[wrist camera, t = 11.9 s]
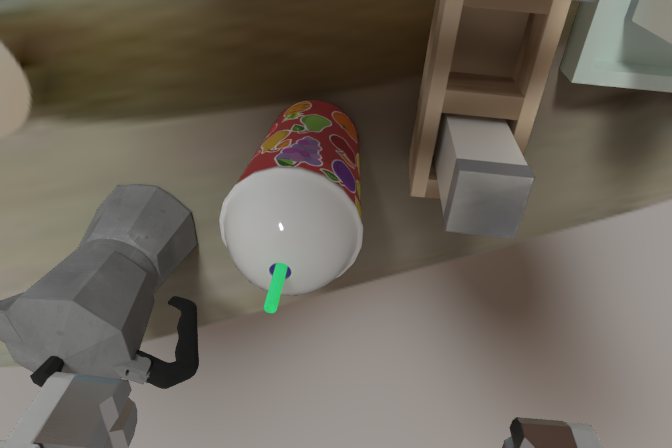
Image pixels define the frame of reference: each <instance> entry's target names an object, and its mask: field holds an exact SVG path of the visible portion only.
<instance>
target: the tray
mask: <svg viewBox="0 0 672 448" xmlns="http://www.w3.org/2000/svg"><path fill="white" fill-rule="evenodd" d="M630 2H631V0H594V2H585V1H581V2H580V5H579V8H578V11H577V14H576V17H575V20H574V24H573V27H572V30H571V33H570V36H569V39H568V42H567V46H566V49H565V52H564V55H563V58H562V61H561V64H560V67H559V69H560V70H561V71H562V73H563V74H564V75H565V76H566V77H567V78H568V79H569V80H570V81H571V83H580V84H590V85H600V86H611V87H621V88H631V89H641V90H651V91H661V92H672V44H671V43H669V42H667V41H666V40H664V39H662V38H660V37H659V36H657V35H655V34H654V33H652V32H650V31H648V30H647V29H645V28H643V27H642V26H640V25H638V24H637V23H635V22H632V21H629V20H627V19H626V18H625V15H626V13H627V10H628V7H629V5H630Z"/></svg>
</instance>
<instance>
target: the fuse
mask: <svg viewBox="0 0 672 448" xmlns="http://www.w3.org/2000/svg"><path fill="white" fill-rule="evenodd" d="M433 156H434V162H435V168H436V174H437V180H438V186H439V192H440V198H441V204H442V210H443V223H444V229H445V231H446V232H455V233H465V234H474V235H483V236H493V237H502V238H511V239H515V237H516V234H517V231H518V228H519V225H520V222H521V219H522V216H523V213H524V210H525V207H526V204H527V201H528V198H529V195H530V192H531V189H532V186H533V183H534V180H535V176H534V174H533V172H532V170H531V168H530V166H528V165H527V163H526V161H525V159H524V157H523V155H522V153H521V151H520V149H519V147H518V145H517V143H516V141H515V138H514V136H513V134H512V132H511V130H510V128H509V126H508V124H507V122H506V120H505V119H501V118H491V117H481V116H471V115H461V114H452V113H442V112H441V117H440V122H439V127H438V132H437V137H436V142H435V147H434V152H433Z"/></svg>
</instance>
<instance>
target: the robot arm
mask: <svg viewBox="0 0 672 448" xmlns="http://www.w3.org/2000/svg"><path fill="white" fill-rule="evenodd" d="M130 392H131V387H130V384H129V381H128V380H124V379H115V378H107V377H98V376H90V375H81V374H73V373H63V372H55V373H54V374H53V375H51V376H50V377H49V378H48V379H47V380H46V382H45V383H44V385H43V386H42V388H41V389H40V391H39V392H38V394H37V395H36V397H35V398H34V400H33V401H32V403H31V404H30V405H29V407H28V408H27V410H26V411H25V413H24V414H23V416H22V417H21V419H20V421H19V422H18V423H17V425H16V426H15V428H14V429H13V431H12V432H11V434H10V435H9V436H8V438H7V439H6V441H3V440H0V448H128V447H129V445H130V443H131V440H132V438H133V436H134V432H135V427H136V424H137V408H136V404H135V403H134V402H133V401H132V400H131V399H130V398H128V396H129V394H130ZM510 431H511V437H509V438H508V439H506V440H505V441H504V444H503V447H502V448H602V445H601V442H600V440H599V437H598V435H597V432H596V430H595V429H594V428H593V427H592V425H589V424H581V423H567V422H563V421H554V420H542V419H530V418H518V417H516V418H515V419H514V420H513V421H512V423H511V426H510Z"/></svg>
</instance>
